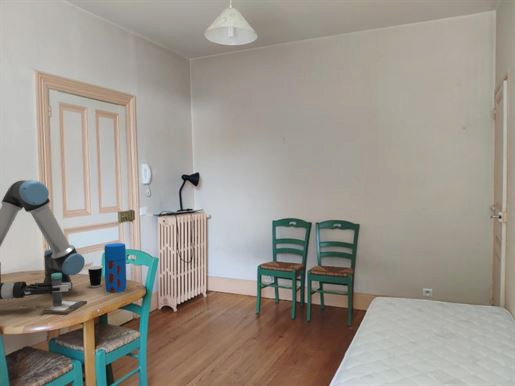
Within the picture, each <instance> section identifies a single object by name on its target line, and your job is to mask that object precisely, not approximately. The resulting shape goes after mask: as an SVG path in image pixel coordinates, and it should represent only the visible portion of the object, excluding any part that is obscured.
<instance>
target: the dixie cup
mask: <svg viewBox="0 0 515 386" xmlns="http://www.w3.org/2000/svg"><path fill="white" fill-rule="evenodd" d="M87 271H88V276H89V283H90V284H89V285H90V287H91V288H94V287H95V288H99V286H100V287H101V284H102V275H103V265H92V266H89V267H87ZM95 288H94V289H95Z"/></svg>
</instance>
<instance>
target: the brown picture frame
mask: <svg viewBox="0 0 515 386" xmlns="http://www.w3.org/2000/svg"><path fill="white" fill-rule="evenodd" d="M87 303H88V301H87V300H78V299H77V300H75V299H73V300H71V299H64V300H63V299H62V305H61V306H57V307H54V306H53V305H51V306H49V307H48V308H46V309H44V310H42V312H41V313H42V314H43V315H56V316H57V315H58V316H59V315H61V316H64V315H65V316H67V315H69V314H71V313H73V312H74V311H76V310H78V309H79V308H81V307H84V306H85V305H86V304H87Z"/></svg>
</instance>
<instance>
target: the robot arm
mask: <svg viewBox="0 0 515 386" xmlns="http://www.w3.org/2000/svg"><path fill="white" fill-rule="evenodd" d="M49 194H50V193H49V189H48V186H47V185H46V184H44V183H43V182H41V181H38V180H34V179H33V180H32V179H30V180H29V179H28V180H26V179H25V180H18V181H15V182H14V183H12V184H11V185H10V186H9V187H8V189H7V191H6V192H5V195H4V196H3V198H2V200H1V203H0V204H1V207H0V247H2V245H3V243H4V241H5V239H6V237H7V234H8V232H9V231H10V229H11V227H12V224H13V223H14V221H15V220H16V217H17V215H18V213H19V212H20V211H22V210H23V209H24V211H25V212H26V213H29V214H30V215H31V216H32V218H33V219H34V222H35V223H36V225H37V227H38V229H39V231H40V232H41V235H42V236H43V238H44V239H45V241H46V243H47V245H48V246H49V249H45V251H44V255H43V257H44V280H43V282H35V283H30V284H29V285H27V283H26V281H7V282H2V279H1V278H2V275H1V274H2V272H1V269H2V267H1V266H2V264H1V262H0V300H7V301H9V300H10V299H23V298H25V297H28V296H37V295H38V296H39V295H52V291H53V292H62V293H63V292H69V291H70V290H72V289H73V288H74V287H73V285H74V284H73V282H72V280H71V276H76V275H78V274H80V272H82V270H83V269H84V266H85V263H86V261H85V258H84V256H83V255H82V253H81V254H80V253H79V252H77V249H76V248H75V245H72V244H70V242H69V241H68V239H67V237H66V236H65V233H64V232H63V230H62V228H61V226H60V224H59V222H58V221H57V219H56V217H55V215H54V213H53V211H52V209H51V207H50V203H51V201H50V199H49ZM53 273H62V278H61V281H62V286H53V288H52V279H51V274H53Z"/></svg>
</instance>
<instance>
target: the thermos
mask: <svg viewBox="0 0 515 386" xmlns="http://www.w3.org/2000/svg"><path fill="white" fill-rule="evenodd" d="M126 248H127V247H126V244H125V243H122V242H114V243H107V244H105V245H104V249H103V250H104V282H105V283H104V285H105V292H106V293H109V292H110V293H111V294H113V293H115V292H116V293H122V292H124V291H125V289H127V258H126V256H127V255H126V254H127V253H126V252H127V251H126V250H127V249H126ZM110 293H109V294H110Z"/></svg>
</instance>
